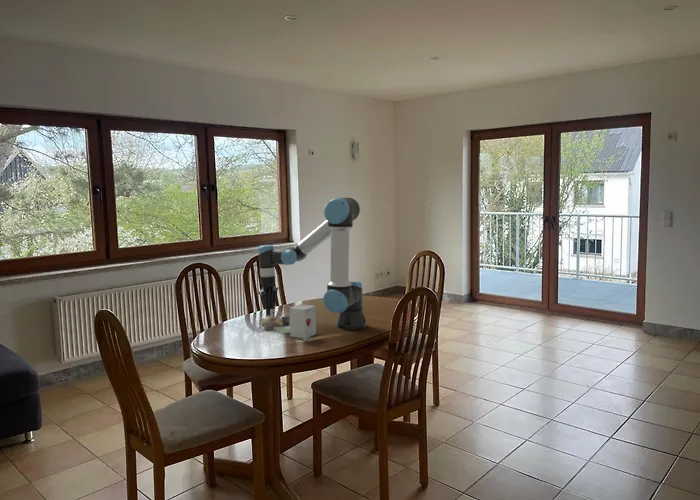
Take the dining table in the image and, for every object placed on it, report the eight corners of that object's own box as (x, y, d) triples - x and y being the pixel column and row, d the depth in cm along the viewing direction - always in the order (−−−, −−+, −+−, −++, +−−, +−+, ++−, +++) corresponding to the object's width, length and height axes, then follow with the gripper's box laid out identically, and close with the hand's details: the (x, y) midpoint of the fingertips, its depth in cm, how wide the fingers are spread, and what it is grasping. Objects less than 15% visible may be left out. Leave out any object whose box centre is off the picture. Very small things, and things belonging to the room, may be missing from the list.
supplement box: (305, 341, 247) (304, 309, 246) (290, 339, 252) (288, 307, 251) (317, 336, 255) (316, 305, 253) (301, 334, 260) (300, 303, 258)
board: (307, 333, 262) (306, 322, 262) (263, 340, 252) (263, 329, 251) (285, 321, 286) (284, 312, 286) (244, 327, 276) (244, 317, 275)
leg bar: (290, 324, 274) (289, 316, 274) (288, 326, 271) (287, 317, 270) (263, 324, 276) (263, 315, 276) (261, 326, 273) (261, 317, 272)
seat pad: (303, 330, 262) (303, 329, 262) (282, 334, 256) (282, 332, 256) (294, 326, 271) (294, 324, 271) (274, 329, 266) (274, 327, 266)
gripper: (270, 273, 281) (272, 317, 284) (253, 277, 270) (256, 323, 273) (281, 274, 277) (283, 319, 280) (264, 278, 266) (267, 325, 269)
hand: (270, 321), depth 277 cm, fingers closed
